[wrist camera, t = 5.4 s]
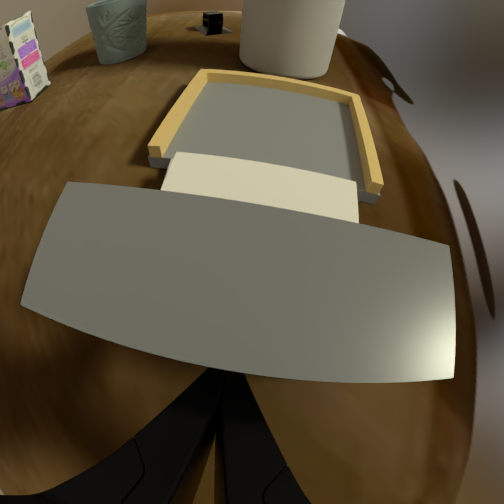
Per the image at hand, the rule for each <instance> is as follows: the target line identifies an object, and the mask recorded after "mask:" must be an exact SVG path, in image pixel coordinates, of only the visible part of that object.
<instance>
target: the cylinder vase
mask: <svg viewBox="0 0 504 504" xmlns="http://www.w3.org/2000/svg"><path fill="white" fill-rule="evenodd" d="M344 3H345V0H243V10H242V23H241V37H240V52H239V57H240V60H241V61H242V63H243V64H244V65H246V66H247V67H249V68H250V69H252V70H255V71H257V72H260V73H263V74H266V75H273V76H279V77H285V78H291V79H299V80H304V79H314V78H318V77H321V76H323V75H324V74H325V73H326V72H327V70H328V66H329V62H330V59H331V55H332V51H333V47H334V43H335V40H336V36H337V32H338V28H339V23H340V20H341V16H342V12H343V8H344Z"/></svg>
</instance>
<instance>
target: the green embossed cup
mask: <svg viewBox="0 0 504 504" xmlns="http://www.w3.org/2000/svg"><path fill="white" fill-rule="evenodd" d="M146 5H147V0H102V1H99V2H96V3H94V4H91V5H89V6H87V7H86V10H87V15H88V19H89V24H90V28H91V30H92V33H93V40H94V41H95V44H96V52H97V55H98V59H99V62H100V63H101V64H103V65H109V64H115V63H119V62H123V61H126V60H129V59H131V58H134V57H136V56H138V55H140V54H142V53H143V52H144V51H145V50H146V21H147V19H146Z"/></svg>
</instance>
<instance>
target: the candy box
mask: <svg viewBox="0 0 504 504" xmlns="http://www.w3.org/2000/svg"><path fill="white" fill-rule="evenodd" d="M50 84H51V82H50V80H49V77H48V74H47V71H46V68H45V65H44V61H43V58H42V55H41V51H40V48H39V44H38V40H37V36H36V32H35V28H34V24H33V20H32V14H31V11H28V12H26V13H24V14H23V15H21V16H19V17H17V18H15V19H13V20H12V21H10V22H8V23H7V24H5V25H4V26H2V27H1V28H0V110H3V109H6V108H9V107H13V106H16V105H20V104H23V103H27V102H30V101H32V100H33V99H34V98H35V97H36V96H38V95H39V94H40V93H41V92H42V91H43V90H44V89H45V88H46V87H48V86H49V85H50Z"/></svg>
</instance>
